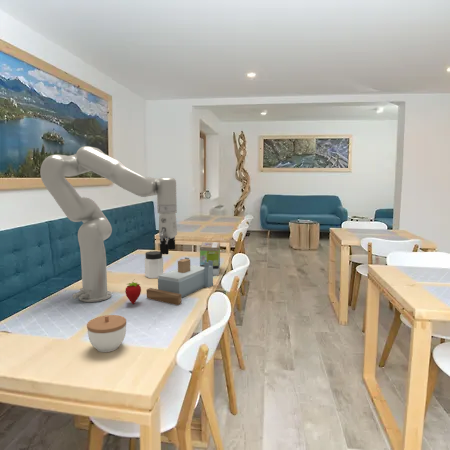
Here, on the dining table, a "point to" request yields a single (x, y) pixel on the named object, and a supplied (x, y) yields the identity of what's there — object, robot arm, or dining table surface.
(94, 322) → the lidded jar
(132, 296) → the strawberry
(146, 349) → the dining table surface
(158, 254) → the jar
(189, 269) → the lid
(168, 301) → the brown block
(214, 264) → the tea box
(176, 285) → the toolbox
